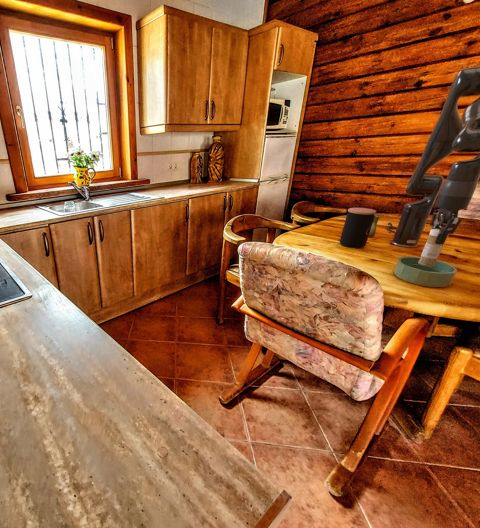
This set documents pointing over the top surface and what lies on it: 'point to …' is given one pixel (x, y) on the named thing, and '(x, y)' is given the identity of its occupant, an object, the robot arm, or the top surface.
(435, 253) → the sprinkles bottle
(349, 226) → the coffee jar
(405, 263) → the shallow teal bowl
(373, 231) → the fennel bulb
